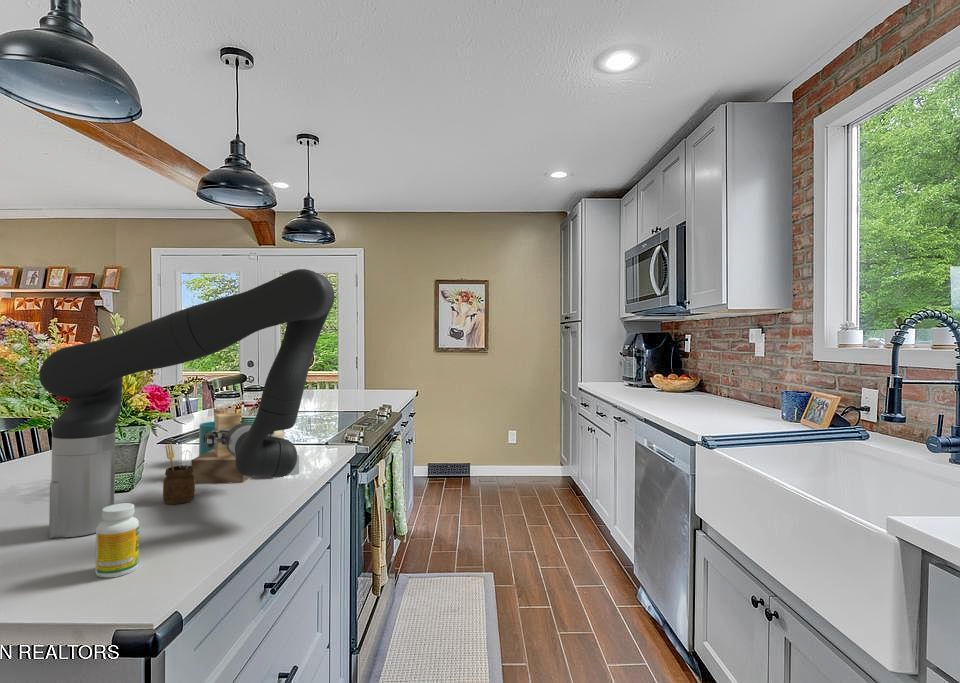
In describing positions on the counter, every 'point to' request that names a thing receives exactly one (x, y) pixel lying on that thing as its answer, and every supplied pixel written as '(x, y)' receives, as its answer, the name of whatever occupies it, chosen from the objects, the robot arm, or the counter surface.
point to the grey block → (295, 470)
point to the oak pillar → (225, 423)
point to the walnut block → (216, 469)
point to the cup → (202, 428)
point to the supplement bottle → (117, 541)
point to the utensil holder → (178, 481)
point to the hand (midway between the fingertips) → (233, 431)
